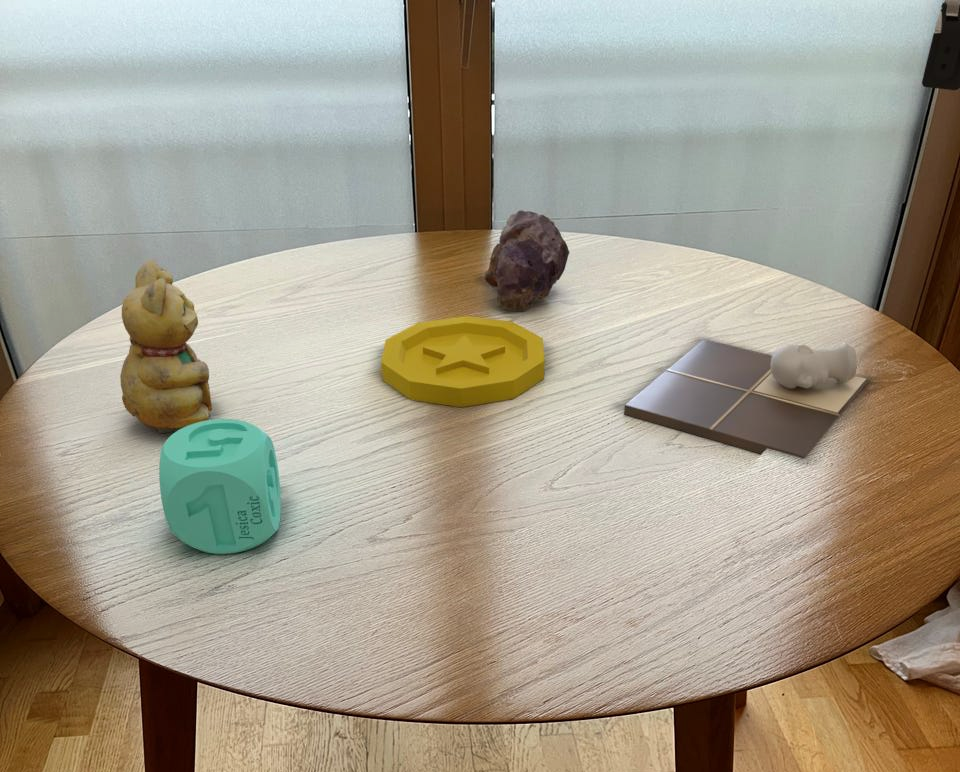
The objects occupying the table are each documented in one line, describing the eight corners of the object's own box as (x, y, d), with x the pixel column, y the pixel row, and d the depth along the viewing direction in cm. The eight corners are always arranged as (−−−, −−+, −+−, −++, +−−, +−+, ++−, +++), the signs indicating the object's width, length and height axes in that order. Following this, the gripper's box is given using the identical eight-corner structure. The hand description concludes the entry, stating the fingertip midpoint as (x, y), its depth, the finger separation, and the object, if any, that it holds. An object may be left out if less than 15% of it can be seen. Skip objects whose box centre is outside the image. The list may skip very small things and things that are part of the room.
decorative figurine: (229, 433, 95) (197, 277, 85) (142, 454, 92) (99, 295, 82) (202, 392, 101) (170, 243, 92) (120, 411, 99) (78, 259, 89)
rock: (485, 324, 116) (571, 320, 116) (482, 255, 110) (573, 251, 109) (483, 272, 124) (564, 268, 124) (481, 204, 117) (566, 200, 117)
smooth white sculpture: (766, 400, 98) (768, 364, 101) (850, 406, 97) (851, 369, 99) (772, 367, 94) (774, 330, 97) (860, 372, 93) (860, 335, 96)
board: (867, 388, 100) (870, 378, 99) (802, 466, 88) (804, 455, 88) (702, 347, 108) (703, 337, 107) (623, 414, 96) (624, 404, 96)
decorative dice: (175, 558, 79) (152, 471, 74) (190, 503, 85) (170, 420, 80) (275, 552, 80) (259, 465, 75) (283, 499, 86) (269, 415, 81)
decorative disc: (575, 357, 106) (576, 339, 105) (477, 422, 96) (476, 403, 94) (452, 321, 114) (452, 304, 113) (348, 378, 103) (346, 360, 102)
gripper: (1049, -169, 70) (975, 102, 81) (1094, -177, 80) (1023, 63, 92) (940, -168, 73) (883, 91, 84) (997, -176, 84) (939, 55, 95)
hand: (956, 76), depth 88 cm, fingers open, 9 cm apart
